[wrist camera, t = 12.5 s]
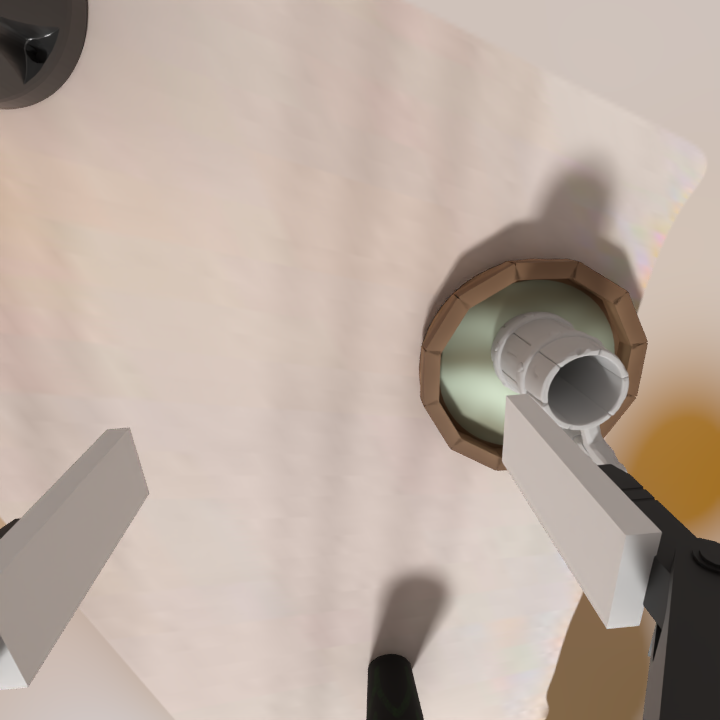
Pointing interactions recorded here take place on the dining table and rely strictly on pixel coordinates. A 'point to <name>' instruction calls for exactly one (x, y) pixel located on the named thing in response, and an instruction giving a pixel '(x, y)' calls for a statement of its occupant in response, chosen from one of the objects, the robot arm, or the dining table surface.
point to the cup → (392, 690)
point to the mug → (563, 376)
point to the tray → (490, 312)
